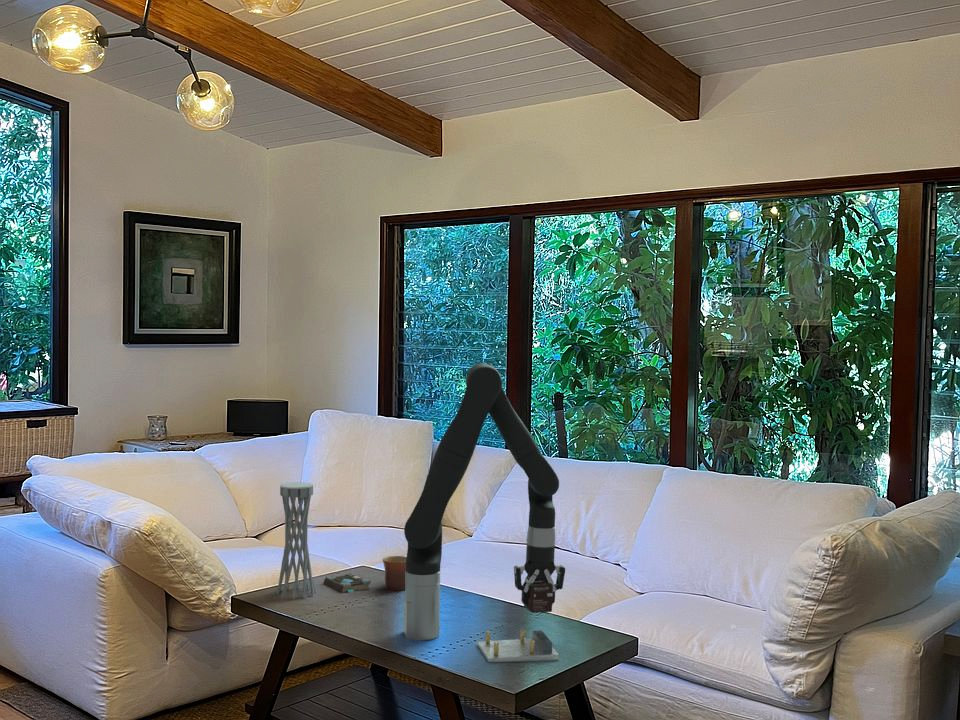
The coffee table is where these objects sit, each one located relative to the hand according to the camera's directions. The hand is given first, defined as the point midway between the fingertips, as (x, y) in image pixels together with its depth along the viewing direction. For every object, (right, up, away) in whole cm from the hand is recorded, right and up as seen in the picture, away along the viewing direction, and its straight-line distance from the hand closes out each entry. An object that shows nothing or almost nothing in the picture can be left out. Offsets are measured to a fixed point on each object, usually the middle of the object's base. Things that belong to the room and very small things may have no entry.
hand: (538, 604), depth 258 cm
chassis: (-6, -9, -13) cm, 17 cm away
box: (0, -2, 0) cm, 2 cm away
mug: (-42, -7, +46) cm, 62 cm away
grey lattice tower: (-71, -7, +33) cm, 78 cm away
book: (-55, -8, +43) cm, 71 cm away
